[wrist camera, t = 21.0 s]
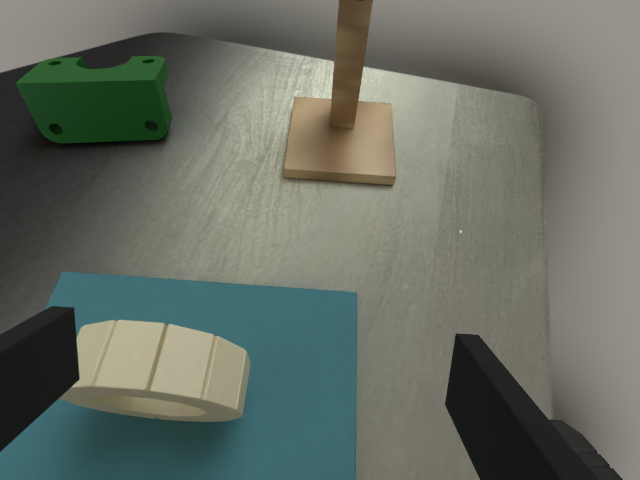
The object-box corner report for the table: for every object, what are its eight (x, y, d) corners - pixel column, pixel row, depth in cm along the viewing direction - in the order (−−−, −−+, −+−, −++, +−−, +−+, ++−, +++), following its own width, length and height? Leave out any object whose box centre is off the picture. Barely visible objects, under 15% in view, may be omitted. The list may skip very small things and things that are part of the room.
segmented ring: (256, 375, 26) (238, 327, 18) (249, 426, 24) (225, 396, 16) (119, 366, 26) (43, 313, 18) (103, 415, 24) (12, 380, 16)
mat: (356, 295, 30) (357, 292, 29) (353, 568, 21) (354, 570, 21) (66, 274, 30) (62, 271, 29) (-56, 539, 21) (-65, 540, 21)
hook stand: (389, 112, 41) (456, -177, 23) (393, 185, 36) (484, -119, 18) (294, 105, 41) (289, -189, 23) (284, 177, 36) (266, -135, 18)
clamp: (169, 141, 44) (186, 62, 38) (159, 171, 39) (176, 87, 34) (45, 103, 39) (44, 9, 34) (18, 132, 35) (12, 29, 30)
